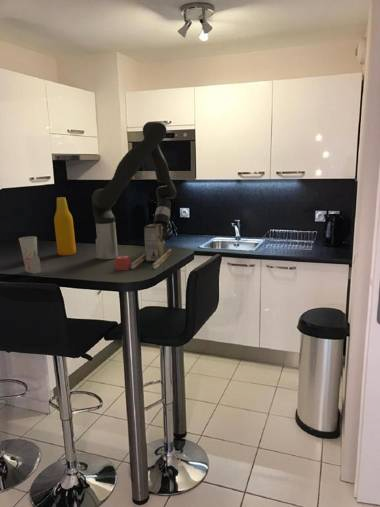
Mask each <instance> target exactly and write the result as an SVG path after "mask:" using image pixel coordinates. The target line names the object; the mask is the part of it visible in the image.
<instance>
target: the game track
mask: <svg viewBox="0 0 380 507" xmlns="http://www.w3.org/2000/svg"><path fill="white" fill-rule="evenodd" d="M172 253H173V249H172V248H169V249H168V250H167V251H166V252H164V255H163V256H162V257H160V258H159V259H158V260H157V261H154V263H153V264H152V268H153V269H154V270H155V269H157V268H159V266H160V265H162V264H163V262H165V260H166V259H168V258H169V256H171V255H172ZM144 261H146V252H145V253H143V254H141V256H140V257H138V258H136V259H135V260H134V261H133V262H131V267H130V269H133V270H134V269H135V268H136V267H137V266H139V265H140V264H141V263H142V262H144Z"/></svg>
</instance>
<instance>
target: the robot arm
mask: <svg viewBox="0 0 380 507" xmlns="http://www.w3.org/2000/svg"><path fill="white" fill-rule="evenodd" d="M142 136H143V139H142V141H140V142H139V143H138V144H137V145H136V146H134V147H132V148H131V149H130V150H129V151H127V153H125V155H124V156H123V157H122V158H121V159H120V161H119V162H118V164H117V167H116V169H115V171H114V174H113V176H112V178H111V180H110V181H109V182H108V183H107V184H106V185H105V187H104V188H98V189H96V190H95V191H93V193H92V196H91V205H92V213H93V214H92V215H93V217H94V221H95V228H96V238H95V248H96V258H97V259H98V260H112V259H115V258H117V257H118V256H119V251H118V238H117V229H116V228H117V227H116V216H115V215H114V213H113V211H112V207H113V206H114V205H115V204H116V203H117V200H118V198H119V197H120V195H121V194H122V193H123V191H124V189H125V188H126V187H127V185H128V184H129V183H130V181H131V180H132V179H133V178H134V176H135V175H136V174H137V173H138V171H139V170H140V168H141V167H142V166H143V164H144V163H145V162H146V160H147V159H148V157H149V156H150V158H151V160H152V164H153V168H154V172H155V178H156V181H157V182H158V183H162V184H165V185H161V186H158V187H157V188H156V191H155V193H156V200H157V206H156V210H155V212H154V218H153V219H154V220H153V224H162V230H163V241H166V240H167V239H168V238H169V237H170V236H171V235H172V234H173V230H172V229H171V228H170V227H169V224H170V218H171V208H172V202H171V200H172V199H175V198H176V196H177V189H176V186H175V184H174V182H173V180H172V178H171V174H170V170H169V165H168V162H167V160H166V158H165V156H164V154H163V152H162V151H161V148H160V144H161V143H162V141H163V140H164V139H165V138H166V136H167V127H166V125H165V123H163V122H161V121H160V122H159V121H148V122H146V123H145V124H144V125H143V127H142Z"/></svg>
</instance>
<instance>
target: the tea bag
mask: <svg viewBox="0 0 380 507" xmlns="http://www.w3.org/2000/svg"><path fill="white" fill-rule="evenodd" d="M23 264H24V269H25V273H29V274H31V275H34V274H39V273H42V266H41V259H40V257H39V255H38V253H37V254H36V252H35V250H31V249H26V253H25V256H24V259H23Z"/></svg>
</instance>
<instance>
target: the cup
mask: <svg viewBox="0 0 380 507" xmlns="http://www.w3.org/2000/svg"><path fill="white" fill-rule="evenodd" d="M18 242H19V246H20V250H21V254H22V258H23V260H24V256H25V253H26V249H31V250H35V252H36V254H37V255H38V237H37V236H34V235H33V236H32V235H31V236H23V237H19V238H18Z"/></svg>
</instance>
